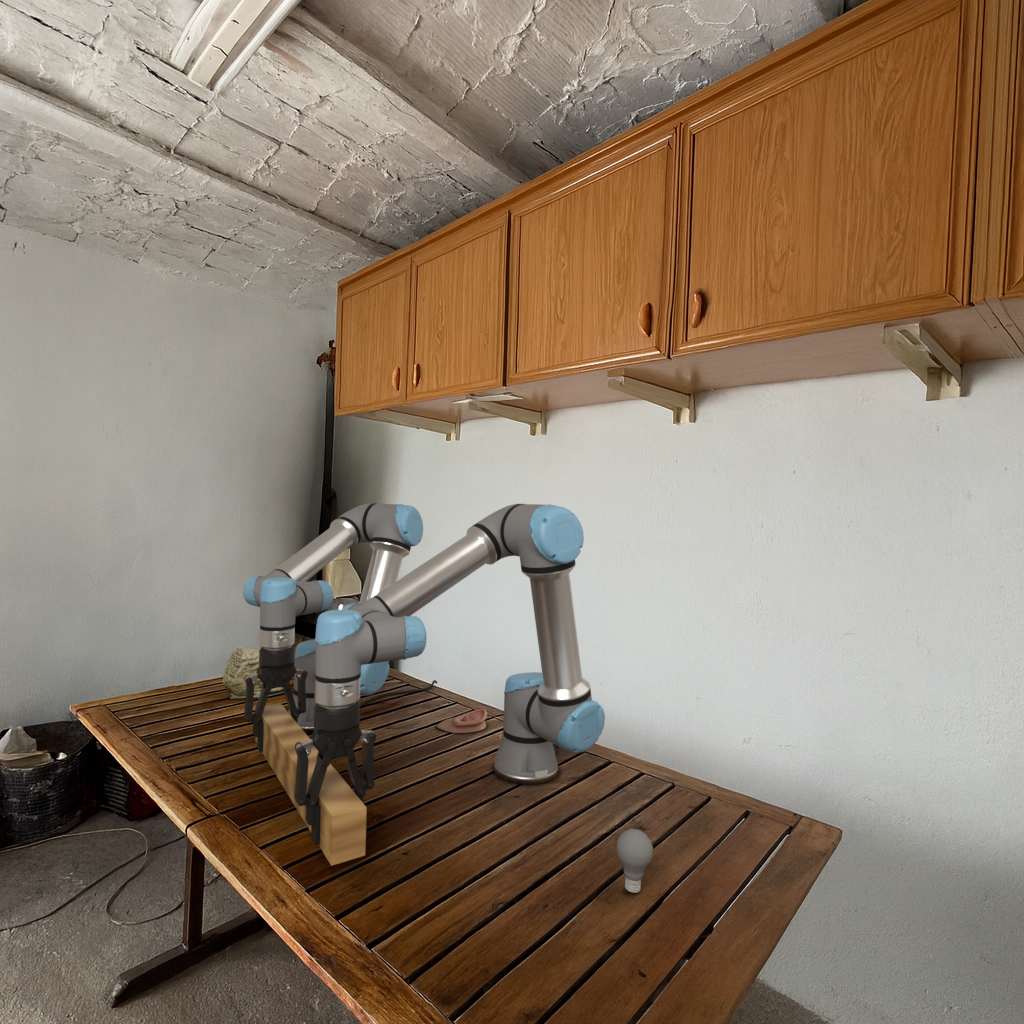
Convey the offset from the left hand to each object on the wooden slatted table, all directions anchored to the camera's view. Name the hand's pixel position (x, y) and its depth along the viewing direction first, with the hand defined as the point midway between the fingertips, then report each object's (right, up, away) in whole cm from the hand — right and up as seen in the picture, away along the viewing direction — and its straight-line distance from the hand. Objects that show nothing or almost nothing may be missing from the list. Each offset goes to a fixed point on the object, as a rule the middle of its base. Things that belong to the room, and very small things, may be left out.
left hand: (275, 746), depth 145 cm
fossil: (-26, -4, +54) cm, 60 cm away
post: (+12, -2, -18) cm, 22 cm away
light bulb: (+74, -10, -39) cm, 84 cm away
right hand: (+24, -2, -36) cm, 43 cm away
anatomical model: (+40, -7, +34) cm, 53 cm away
